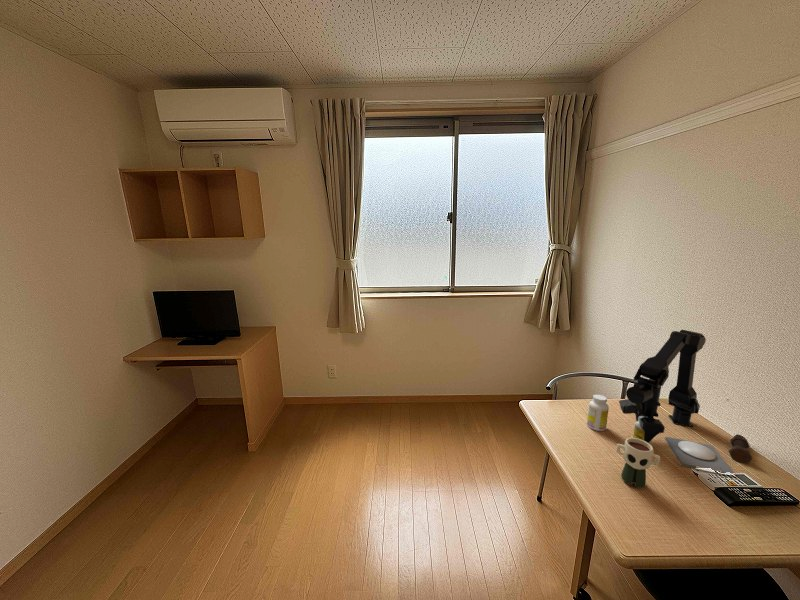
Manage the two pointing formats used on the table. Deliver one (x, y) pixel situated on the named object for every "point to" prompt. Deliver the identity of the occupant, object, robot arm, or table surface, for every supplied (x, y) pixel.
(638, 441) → the character mug
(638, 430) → the supplement bottle
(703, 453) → the scale
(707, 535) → the table surface
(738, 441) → the bolt
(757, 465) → the table surface
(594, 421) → the supplement bottle
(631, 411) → the robot arm
